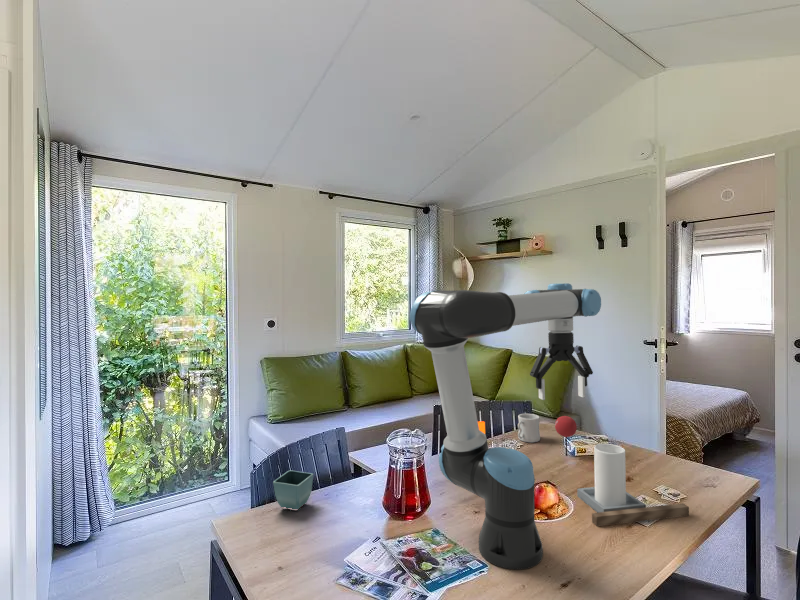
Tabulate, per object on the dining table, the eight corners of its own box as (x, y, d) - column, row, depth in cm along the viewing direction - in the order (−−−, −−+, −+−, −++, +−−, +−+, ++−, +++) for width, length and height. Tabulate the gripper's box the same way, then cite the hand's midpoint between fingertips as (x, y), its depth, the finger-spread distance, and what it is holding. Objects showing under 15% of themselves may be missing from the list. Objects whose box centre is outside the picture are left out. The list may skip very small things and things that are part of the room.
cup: (629, 510, 123) (629, 454, 123) (598, 508, 124) (598, 452, 124) (621, 496, 131) (620, 444, 131) (591, 494, 133) (591, 442, 132)
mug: (525, 434, 192) (525, 412, 191) (544, 439, 185) (544, 416, 184) (509, 441, 184) (508, 417, 183) (527, 446, 177) (527, 422, 177)
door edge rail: (596, 526, 116) (596, 516, 116) (592, 522, 118) (592, 513, 118) (688, 515, 120) (688, 506, 120) (683, 512, 122) (683, 503, 122)
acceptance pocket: (603, 517, 120) (603, 509, 120) (577, 496, 133) (577, 488, 133) (645, 513, 122) (645, 504, 122) (615, 492, 135) (615, 484, 135)
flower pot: (299, 516, 124) (298, 485, 124) (272, 512, 127) (272, 481, 127) (314, 502, 133) (314, 473, 133) (289, 498, 136) (289, 469, 135)
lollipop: (562, 450, 172) (561, 412, 172) (580, 455, 166) (580, 416, 166) (551, 455, 167) (551, 416, 167) (570, 460, 161) (569, 420, 161)
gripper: (528, 334, 133) (529, 402, 134) (603, 331, 137) (604, 398, 137) (518, 331, 141) (519, 397, 141) (590, 329, 144) (591, 393, 145)
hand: (561, 397), depth 139 cm, fingers open, 13 cm apart
